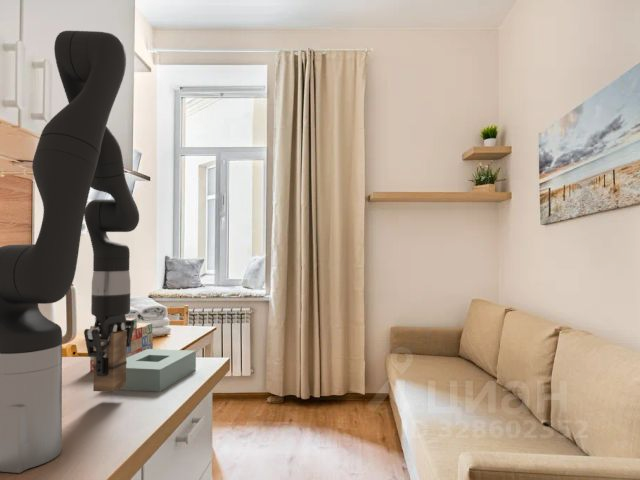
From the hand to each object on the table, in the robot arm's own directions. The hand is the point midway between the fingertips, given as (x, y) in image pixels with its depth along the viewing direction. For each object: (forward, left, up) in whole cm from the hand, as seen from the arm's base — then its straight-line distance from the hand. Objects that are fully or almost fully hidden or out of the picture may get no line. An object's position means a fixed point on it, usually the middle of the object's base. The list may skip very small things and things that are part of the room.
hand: (110, 372), depth 93 cm
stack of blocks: (+30, +17, -7) cm, 36 cm away
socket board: (+16, 0, -6) cm, 18 cm away
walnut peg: (0, 0, -3) cm, 3 cm away
